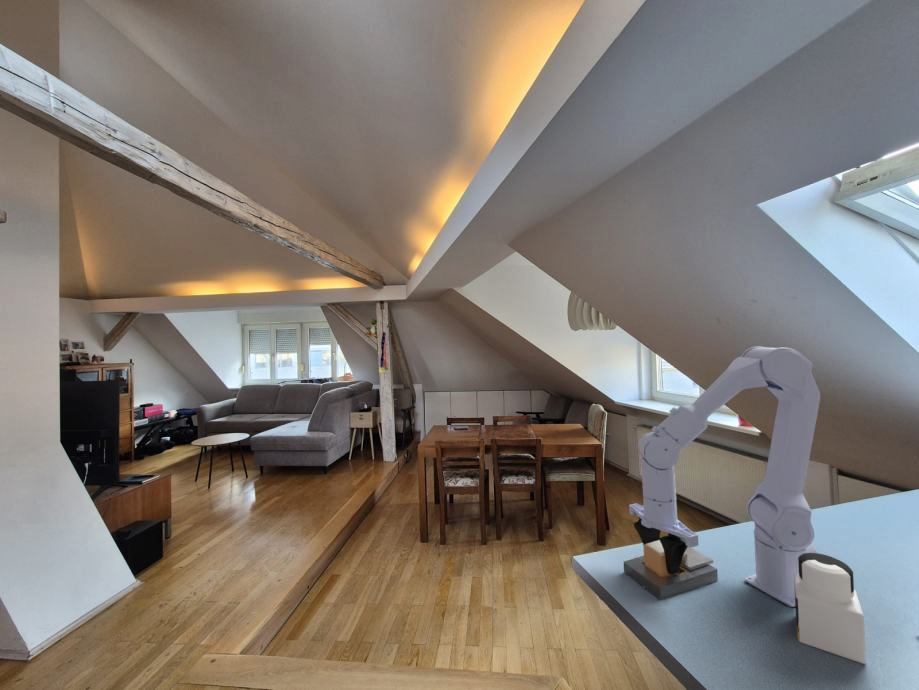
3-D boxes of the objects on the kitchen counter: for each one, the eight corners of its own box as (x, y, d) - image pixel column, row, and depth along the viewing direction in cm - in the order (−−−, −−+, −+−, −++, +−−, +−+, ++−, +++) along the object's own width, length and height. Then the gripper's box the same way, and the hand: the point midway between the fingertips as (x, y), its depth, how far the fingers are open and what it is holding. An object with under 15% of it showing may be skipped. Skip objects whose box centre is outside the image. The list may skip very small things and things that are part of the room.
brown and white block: (661, 567, 77) (659, 538, 77) (679, 579, 73) (677, 549, 73) (644, 572, 75) (643, 543, 75) (662, 585, 71) (660, 554, 71)
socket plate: (677, 556, 81) (676, 544, 81) (717, 580, 73) (717, 567, 73) (624, 572, 77) (623, 560, 77) (660, 600, 68) (659, 586, 68)
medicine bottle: (795, 614, 63) (792, 542, 63) (857, 633, 59) (854, 556, 58) (798, 642, 58) (794, 564, 57) (866, 666, 53) (862, 580, 53)
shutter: (686, 547, 80) (685, 535, 80) (713, 563, 74) (712, 550, 74) (663, 554, 78) (663, 542, 78) (690, 570, 72) (689, 557, 72)
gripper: (616, 486, 80) (619, 551, 80) (675, 515, 66) (679, 593, 66) (642, 481, 82) (646, 543, 82) (705, 507, 68) (709, 583, 68)
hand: (662, 565), depth 74 cm, fingers closed on brown and white block, 4 cm apart
